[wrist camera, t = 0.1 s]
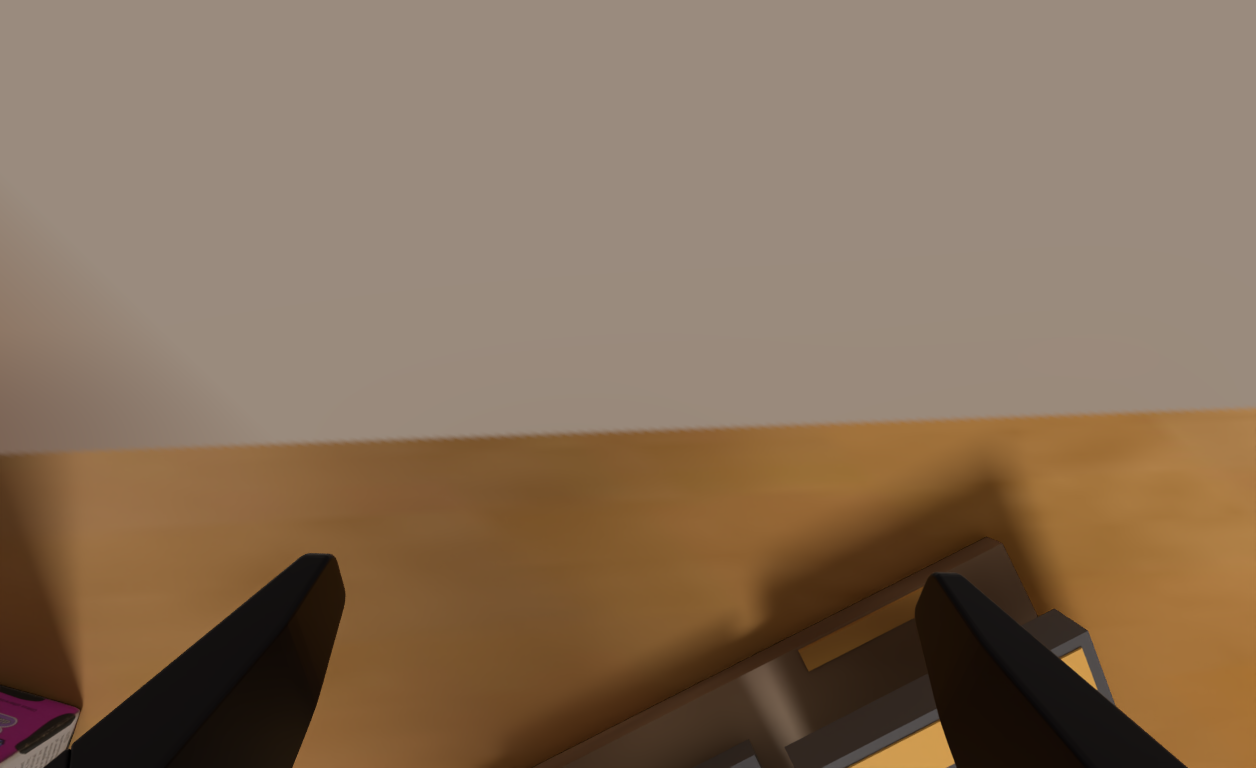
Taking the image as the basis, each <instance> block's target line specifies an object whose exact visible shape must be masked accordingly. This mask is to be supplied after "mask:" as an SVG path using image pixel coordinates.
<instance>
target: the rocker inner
mask: <svg viewBox="0 0 1256 768" xmlns="http://www.w3.org/2000/svg"><path fill="white" fill-rule="evenodd" d="M693 768H763V767H762V765H761V763H760V761H759V759H758V757H757V755H756V753H755V751H754V749H753V746H752V744H751V742H750V740H749V739H748V740H746V741H744V742H742V743H740V744H738V745H736V746H734V747H732V748H730V749H728V750H726V751H724V752H722V753H720V754H718V755H716V756H715V757H713V758H711V759H709V760H707V761H705V762H703V763H701V764H699V765H697V766H695V767H693Z"/></svg>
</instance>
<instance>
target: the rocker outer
mask: <svg viewBox="0 0 1256 768" xmlns="http://www.w3.org/2000/svg"><path fill="white" fill-rule="evenodd" d="M1021 626H1022V627H1024V628H1025V629H1026V630H1027V631H1028V632H1029V633H1031V634H1032V635H1033V636H1034V637H1035V638H1036V639H1038V640H1039V641H1040V642H1041V643H1042V644H1044V645H1045V646H1046V647H1047V648H1048V649H1049V650H1051V651H1052V652H1053V653H1054V654H1055V655H1056V656H1058V657H1059V658H1060V659H1061V660H1062V661H1063V662H1065V663H1066V664H1067V665H1068V666H1069V667H1070V668H1072V669H1073V670H1074V671H1075V672H1076V673H1077V674H1079V675H1080V676H1081V677H1082V678H1083V679H1084V680H1086V681H1087V682H1088V683H1089V684H1090V685H1092V686H1093V687H1094V688H1095V689H1096V690H1097V691H1099V692H1100V693H1101V694H1102V695H1103V696H1104V697H1106V698H1107V699H1108V700H1109V701H1110V702H1111V703H1113V704H1114V705H1115V703H1114V700H1113V698H1112V695H1111V692H1110V690H1109V687H1108V684H1107V681H1106V679H1105V676H1104V673H1103V670H1102V668H1101V665H1100V662H1099V660H1098V657H1097V654H1096V651H1095V649H1094V646H1093V643H1092V640H1091V638H1090V635H1089V632H1088V631H1087V630H1086V629H1084V628H1083V627H1081V626H1080V625H1078V624H1077V623H1075V622H1074V621H1072V620H1071V619H1069V618H1068V617H1066V616H1065V615H1063V614H1062V613H1060V612H1059V611H1057V610H1056V609H1053V610H1051V611H1049V612H1047V613H1045V614H1043V615H1041V616H1039V617H1037V618H1035V619H1033V620H1031V621H1029V622H1027V623H1025V624H1023V625H1021ZM785 749H786V752H787V754H788V756H789V758H790V760H791V762H792V764H793V766H794V768H956V765H955V762H954V759H953V757H952V754H951V751H950V748H949V746H948V743H947V740H946V737H945V734H944V731H943V728H942V725H941V722H940V719H939V716H938V712H937V708H936V705H935V701H934V697H933V693H932V689H931V684H930V680H929V676H928V674H926V675H924V676H922V677H920V678H918V679H916V680H914V681H912V682H910V683H908V684H906V685H904V686H902V687H900V688H899V689H897V690H895V691H893V692H891V693H889V694H887V695H885V696H883V697H881V698H879V699H877V700H875V701H873V702H871V703H869V704H867V705H865V706H863V707H861V708H860V709H858V710H856V711H854V712H852V713H850V714H848V715H846V716H844V717H842V718H840V719H838V720H836V721H834V722H832V723H830V724H828V725H826V726H824V727H822V728H820V729H819V730H817V731H815V732H813V733H811V734H809V735H807V736H805V737H803V738H801V739H799V740H797V741H795V742H793V743H791V744H789V745H787V746H785Z"/></svg>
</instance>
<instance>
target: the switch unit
mask: <svg viewBox="0 0 1256 768" xmlns="http://www.w3.org/2000/svg"><path fill="white" fill-rule="evenodd" d="M932 572H954V573H959V574H961V575H962V576H964V577H965V578H966V579H967V580H969V581H970V582H971V583H972V584H973V585H974V586H976V587H977V588H978V589H979V590H980V591H981V592H983V593H984V594H985V595H986V596H987V597H988V598H990V599H991V600H992V601H993V602H994V603H995V604H997V605H998V606H999V607H1000V608H1001V609H1003V610H1004V611H1005V612H1006V613H1007V614H1008V615H1010V616H1011V617H1012V618H1013V619H1014V620H1015V621H1017V622H1018V623H1019V624H1020V625H1023V624H1025V623H1027V622H1029V621H1031V620H1033V619H1035V618H1037V617H1038V616H1037V614H1036V612H1035V610H1034V608H1033V606H1032V603H1031V601H1030V599H1029V597H1028V595H1027V593H1026V591H1025V589H1024V587H1023V585H1022V583H1021V581H1020V579H1019V577H1018V575H1017V572H1016V570H1015V568H1014V566H1013V564H1012V562H1011V560H1010V558H1009V556H1008V554H1007V552H1006V550H1005V548H1004V546H1003V544H1002V543H1001V542H998V541H996V540H993V539H991V538H988V537H986V538H984V539H982V540H980V541H978V542H976V543H974V544H972V545H970V546H968V547H966V548H964V549H962V550H960V551H958V552H956V553H954V554H952V555H950V556H948V557H946V558H944V559H942V560H940V561H938V562H936V563H934V564H932V565H931V566H929V567H927V568H925V569H923V570H921V571H919V572H917V573H915V574H913V575H911V576H909V577H907V578H905V579H903V580H901V581H899V582H897V583H895V584H893V585H891V586H889V587H887V588H885V589H883V590H881V591H879V592H877V593H875V594H873V595H871V596H869V597H867V598H866V599H864V600H862V601H860V602H858V603H856V604H854V605H852V606H850V607H848V608H846V609H844V610H842V611H840V612H838V613H836V614H834V615H832V616H830V617H828V618H826V619H824V620H822V621H820V622H818V623H816V624H814V625H812V626H810V627H808V628H806V629H804V630H802V631H801V632H799V633H797V634H795V635H793V636H791V637H789V638H787V639H785V640H783V641H781V642H779V643H777V644H775V645H773V646H771V647H769V648H767V649H765V650H763V651H761V652H759V653H757V654H755V655H753V656H751V657H749V658H747V659H745V660H743V661H741V662H739V663H737V664H736V665H734V666H732V667H730V668H728V669H726V670H724V671H722V672H720V673H718V674H716V675H714V676H712V677H710V678H708V679H706V680H704V681H702V682H700V683H698V684H696V685H694V686H692V687H690V688H688V689H686V690H684V691H682V692H680V693H678V694H676V695H674V696H672V697H671V698H669V699H667V700H665V701H663V702H661V703H659V704H657V705H655V706H653V707H651V708H649V709H647V710H645V711H643V712H641V713H639V714H637V715H635V716H633V717H631V718H629V719H627V720H625V721H623V722H621V723H619V724H617V725H615V726H613V727H611V728H609V729H607V730H606V731H604V732H602V733H600V734H598V735H596V736H594V737H592V738H590V739H588V740H586V741H584V742H582V743H580V744H578V745H576V746H574V747H572V748H570V749H568V750H566V751H564V752H562V753H560V754H558V755H556V756H554V757H552V758H550V759H548V760H546V761H544V762H542V763H541V764H539V765H537V766H535V767H533V768H693V767H695V766H697V765H699V764H701V763H703V762H705V761H707V760H709V759H711V758H713V757H715V756H716V755H718V754H720V753H722V752H724V751H726V750H728V749H730V748H732V747H734V746H736V745H738V744H740V743H742V742H744V741H746V740H748V739H749V740H750V742H751V744H752V746H753V749H754V751H755V753H756V755H757V757H758V759H759V761H760V763H761V765H762V767H763V768H794V766H793V764H792V762H791V760H790V758H789V756H788V754H787V752H786V749H785V746H787V745H789V744H791V743H793V742H795V741H797V740H799V739H801V738H803V737H805V736H807V735H809V734H811V733H813V732H815V731H817V730H819V729H820V728H822V727H824V726H826V725H828V724H830V723H832V722H834V721H836V720H838V719H840V718H842V717H844V716H846V715H848V714H850V713H852V712H854V711H856V710H858V709H860V708H861V707H863V706H865V705H867V704H869V703H871V702H873V701H875V700H877V699H879V698H881V697H883V696H885V695H887V694H889V693H891V692H893V691H895V690H897V689H899V688H900V687H902V686H904V685H906V684H908V683H910V682H912V681H914V680H916V679H918V678H920V677H922V676H924V675H926V674H928V672H927V668H926V664H925V660H924V656H923V652H922V648H921V644H920V640H919V636H918V632H917V628H916V623H915V616H914V615H915V607H916V604H917V601H918V599H919V596H920V594H921V592H922V589H923V587H924V584H925V582H926V580H927V578H928V576H929V575H930V574H931V573H932Z"/></svg>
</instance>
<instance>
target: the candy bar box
mask: <svg viewBox="0 0 1256 768" xmlns="http://www.w3.org/2000/svg"><path fill="white" fill-rule="evenodd" d="M79 714H80V710H79V709H78V708H76V707H74V706H71V705H68V704H64V703H61V702H57V701H54V700H51V699H47V698H44V697H40V696H37V695H33V694H30V693H26V692H23V691H19V690H16V689H12V688H9V687H5V686H1V685H0V768H43V767H44V766H46V765H47V764H48V763H49V762H50V761H52V760H53V759H54V758H55V757H57V756H58V755H59V754H60V753H61V752H63V751H64V750H66V749H68V747H69V744H70V741H71V738H72V736H73V733H74V729H75V726H76V722H77V720H78V717H79Z"/></svg>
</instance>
